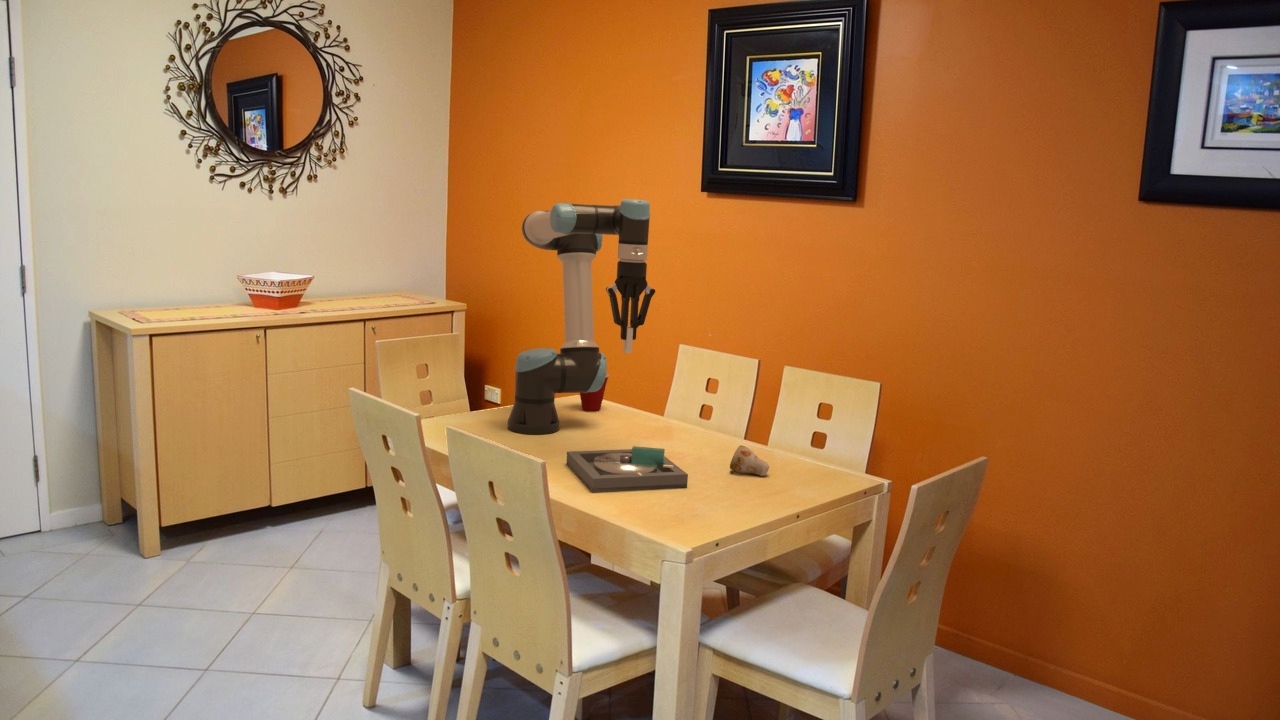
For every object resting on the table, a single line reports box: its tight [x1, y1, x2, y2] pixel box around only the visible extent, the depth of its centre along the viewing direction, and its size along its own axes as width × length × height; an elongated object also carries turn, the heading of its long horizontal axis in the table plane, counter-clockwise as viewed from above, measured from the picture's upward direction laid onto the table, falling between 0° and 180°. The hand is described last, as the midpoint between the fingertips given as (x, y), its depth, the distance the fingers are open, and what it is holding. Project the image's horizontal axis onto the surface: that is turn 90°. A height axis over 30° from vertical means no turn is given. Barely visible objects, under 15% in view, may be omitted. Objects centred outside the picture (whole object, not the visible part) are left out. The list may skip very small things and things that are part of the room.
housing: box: [566, 448, 689, 494], centre depth 243 cm, size 24×24×4 cm
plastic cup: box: [579, 373, 610, 412], centre depth 313 cm, size 11×11×12 cm
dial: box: [593, 445, 666, 475], centre depth 243 cm, size 18×16×6 cm
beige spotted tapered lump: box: [729, 445, 770, 477], centre depth 252 cm, size 8×10×10 cm
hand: (627, 352), depth 251 cm, fingers closed
